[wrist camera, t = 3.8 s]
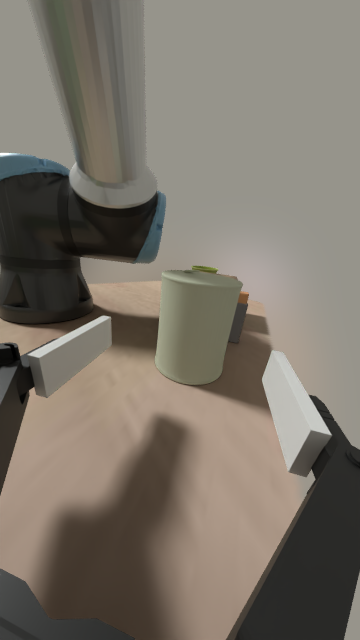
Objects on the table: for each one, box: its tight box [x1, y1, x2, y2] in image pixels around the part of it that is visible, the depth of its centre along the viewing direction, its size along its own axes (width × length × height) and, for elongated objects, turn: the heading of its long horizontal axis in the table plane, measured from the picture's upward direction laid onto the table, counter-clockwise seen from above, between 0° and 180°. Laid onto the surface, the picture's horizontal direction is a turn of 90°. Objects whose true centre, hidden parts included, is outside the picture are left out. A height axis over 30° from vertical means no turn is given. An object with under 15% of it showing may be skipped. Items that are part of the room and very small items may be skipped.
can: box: [155, 270, 243, 385], centre depth 23 cm, size 9×9×12 cm
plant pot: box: [191, 266, 218, 274], centre depth 65 cm, size 9×9×9 cm
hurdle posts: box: [228, 303, 248, 343], centre depth 33 cm, size 14×2×7 cm, turn 77°
